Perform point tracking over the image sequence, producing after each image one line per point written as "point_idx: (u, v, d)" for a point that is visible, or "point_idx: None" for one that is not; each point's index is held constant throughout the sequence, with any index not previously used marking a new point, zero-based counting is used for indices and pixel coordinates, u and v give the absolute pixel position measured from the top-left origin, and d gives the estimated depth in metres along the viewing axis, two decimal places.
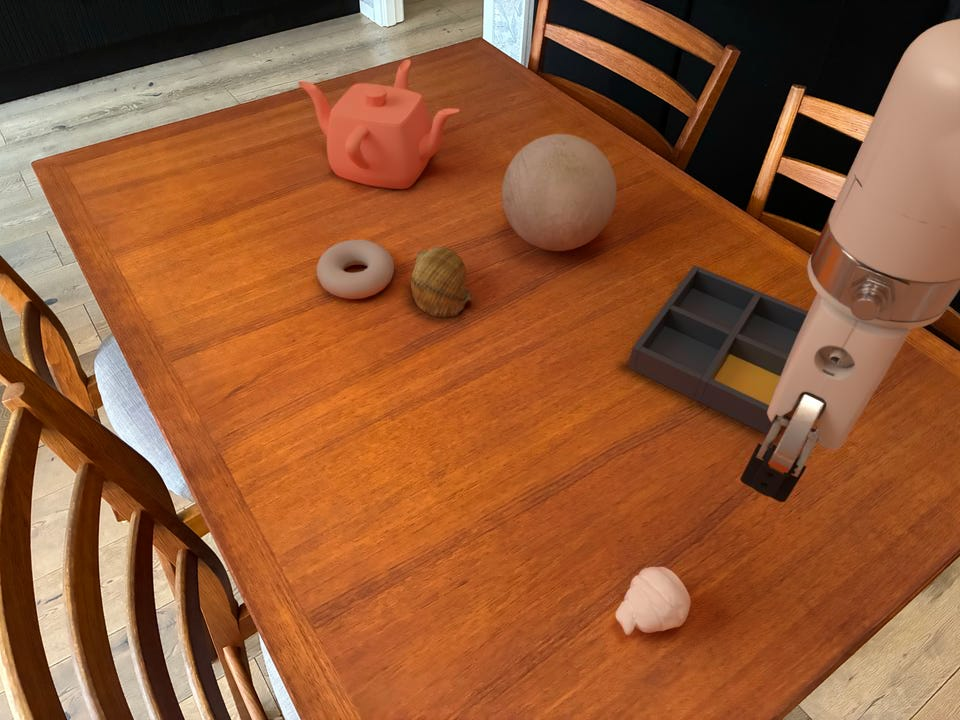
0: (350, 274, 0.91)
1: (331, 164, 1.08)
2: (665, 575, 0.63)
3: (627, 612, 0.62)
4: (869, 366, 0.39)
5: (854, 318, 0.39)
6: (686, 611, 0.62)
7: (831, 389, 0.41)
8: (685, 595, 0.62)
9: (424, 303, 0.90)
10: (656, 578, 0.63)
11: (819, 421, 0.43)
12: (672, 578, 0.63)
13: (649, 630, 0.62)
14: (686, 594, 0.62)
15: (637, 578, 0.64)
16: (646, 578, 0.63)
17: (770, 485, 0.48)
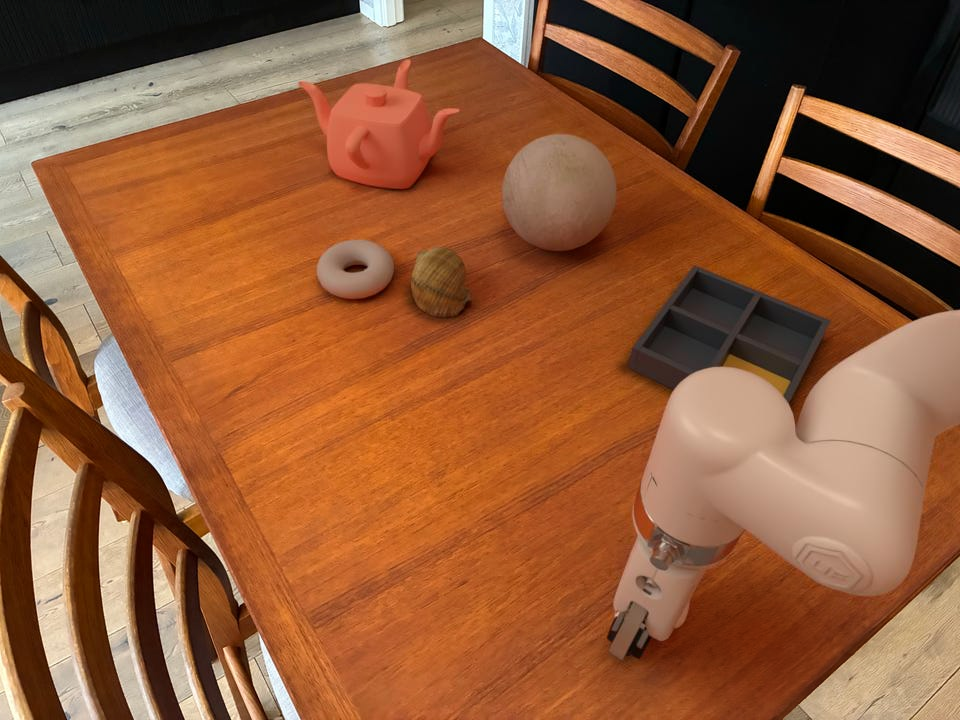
0: (350, 274, 0.91)
1: (331, 164, 1.08)
2: None
3: None
4: (672, 594, 0.51)
5: None
6: (685, 612, 0.62)
7: (650, 604, 0.53)
8: None
9: (424, 303, 0.90)
10: None
11: (646, 622, 0.55)
12: None
13: None
14: None
15: None
16: None
17: None
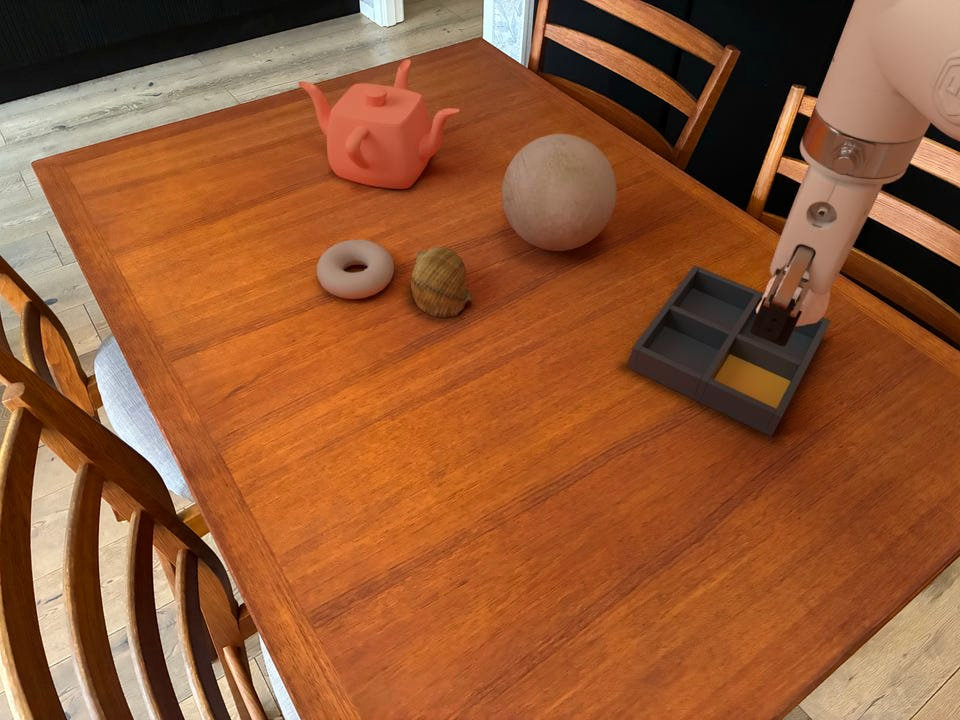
0: (350, 274, 0.91)
1: (331, 164, 1.08)
2: None
3: None
4: (847, 215, 0.52)
5: (835, 178, 0.52)
6: (828, 299, 0.63)
7: (819, 239, 0.54)
8: None
9: (424, 303, 0.90)
10: None
11: (810, 268, 0.56)
12: None
13: None
14: None
15: (775, 276, 0.65)
16: None
17: (774, 329, 0.62)
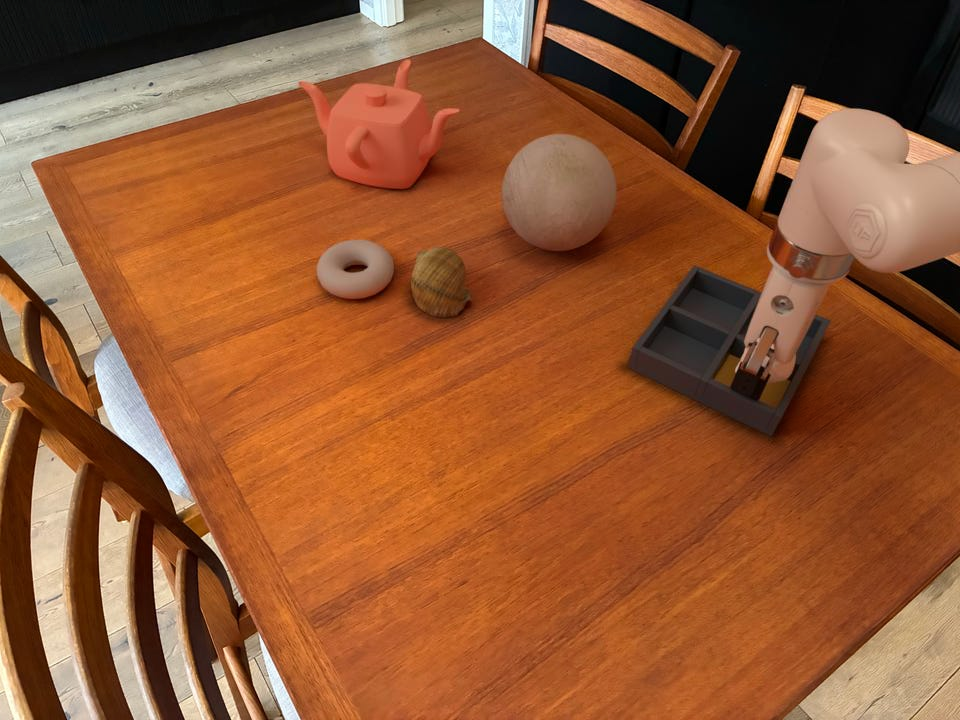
0: (350, 274, 0.91)
1: (331, 164, 1.08)
2: None
3: None
4: (802, 306, 0.66)
5: (793, 278, 0.66)
6: (793, 362, 0.78)
7: (781, 322, 0.68)
8: None
9: (424, 303, 0.90)
10: None
11: (775, 344, 0.70)
12: None
13: None
14: None
15: None
16: (758, 341, 0.79)
17: (748, 388, 0.76)
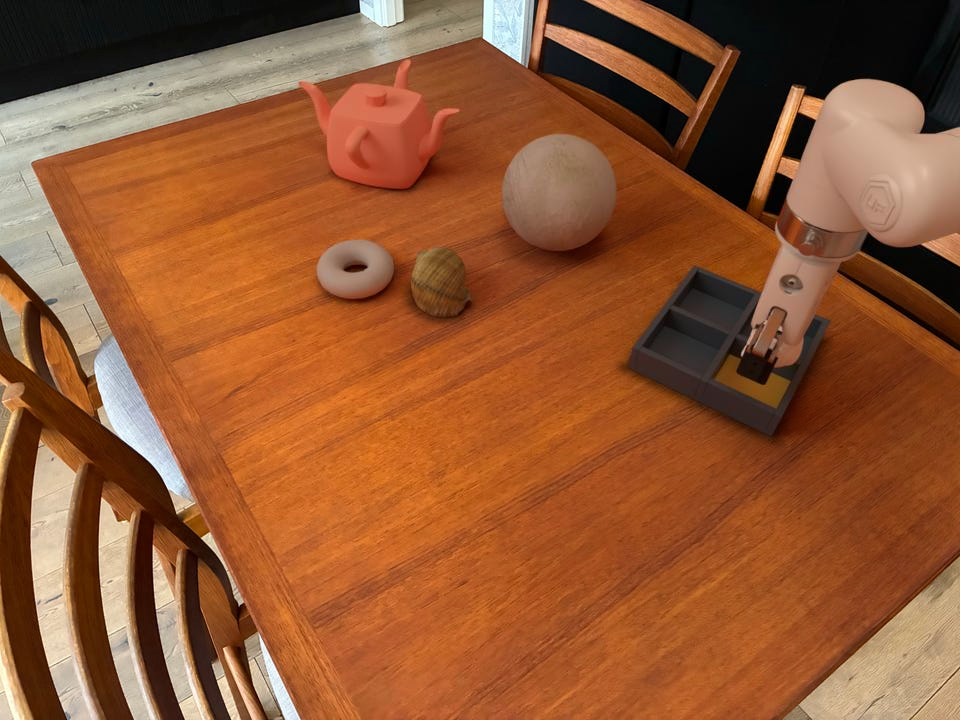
0: (350, 274, 0.91)
1: (331, 164, 1.08)
2: None
3: None
4: (812, 285, 0.64)
5: (802, 256, 0.64)
6: (801, 346, 0.76)
7: (789, 303, 0.66)
8: None
9: (424, 303, 0.90)
10: None
11: (783, 325, 0.68)
12: None
13: None
14: None
15: None
16: None
17: (755, 371, 0.74)
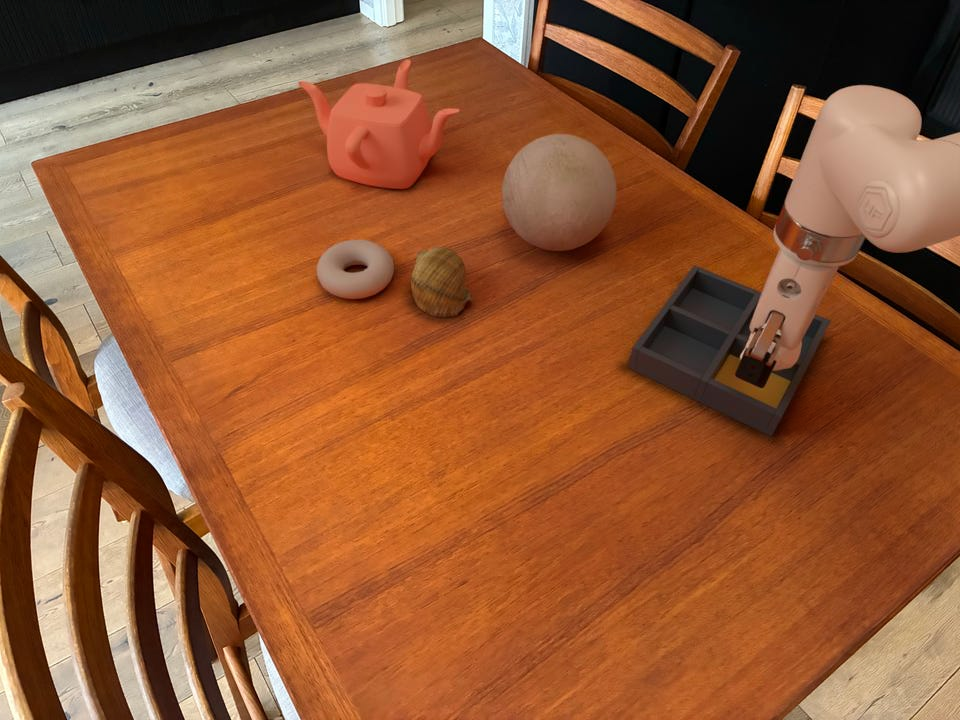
0: (350, 274, 0.91)
1: (331, 164, 1.08)
2: None
3: None
4: (810, 290, 0.65)
5: (800, 261, 0.65)
6: (799, 349, 0.76)
7: (788, 307, 0.67)
8: None
9: (424, 303, 0.90)
10: None
11: (781, 329, 0.69)
12: None
13: None
14: None
15: None
16: None
17: (754, 375, 0.75)
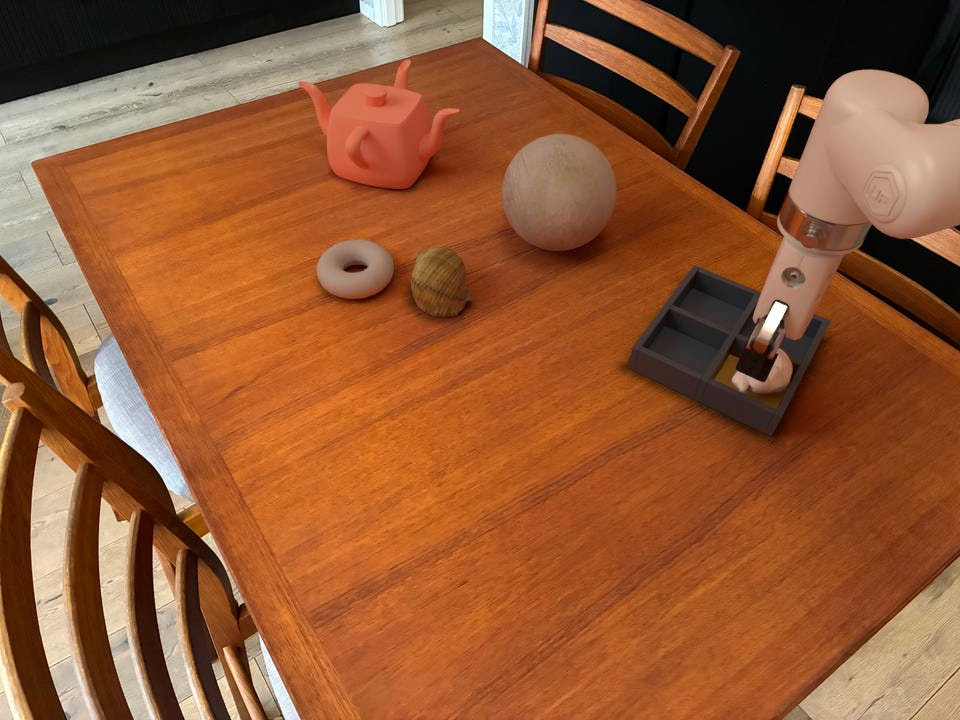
0: (350, 274, 0.91)
1: (331, 164, 1.08)
2: None
3: (742, 375, 0.79)
4: (814, 279, 0.64)
5: (804, 249, 0.64)
6: (789, 375, 0.79)
7: (792, 296, 0.66)
8: (789, 362, 0.79)
9: (424, 303, 0.90)
10: None
11: (785, 319, 0.68)
12: (778, 350, 0.79)
13: (760, 389, 0.79)
14: (789, 362, 0.79)
15: None
16: None
17: (755, 368, 0.73)
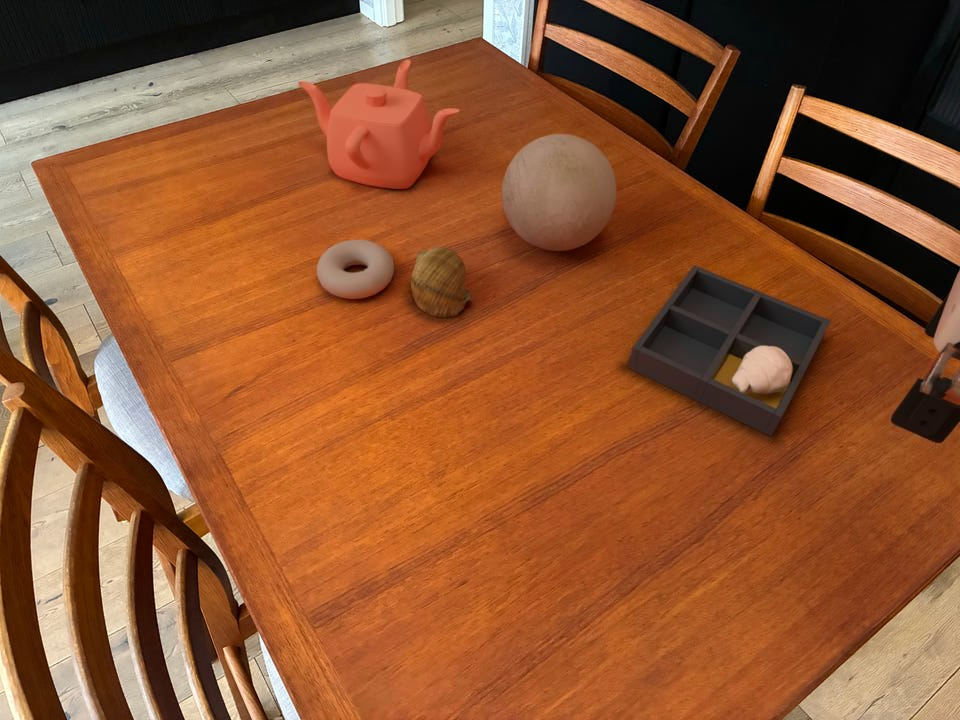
0: (350, 274, 0.91)
1: (331, 164, 1.08)
2: (773, 348, 0.80)
3: (742, 375, 0.79)
4: None
5: None
6: (789, 375, 0.79)
7: None
8: (789, 362, 0.79)
9: (424, 303, 0.90)
10: (766, 349, 0.79)
11: None
12: (778, 350, 0.79)
13: (760, 389, 0.79)
14: (789, 362, 0.79)
15: (749, 353, 0.81)
16: (756, 352, 0.80)
17: (930, 423, 0.45)
